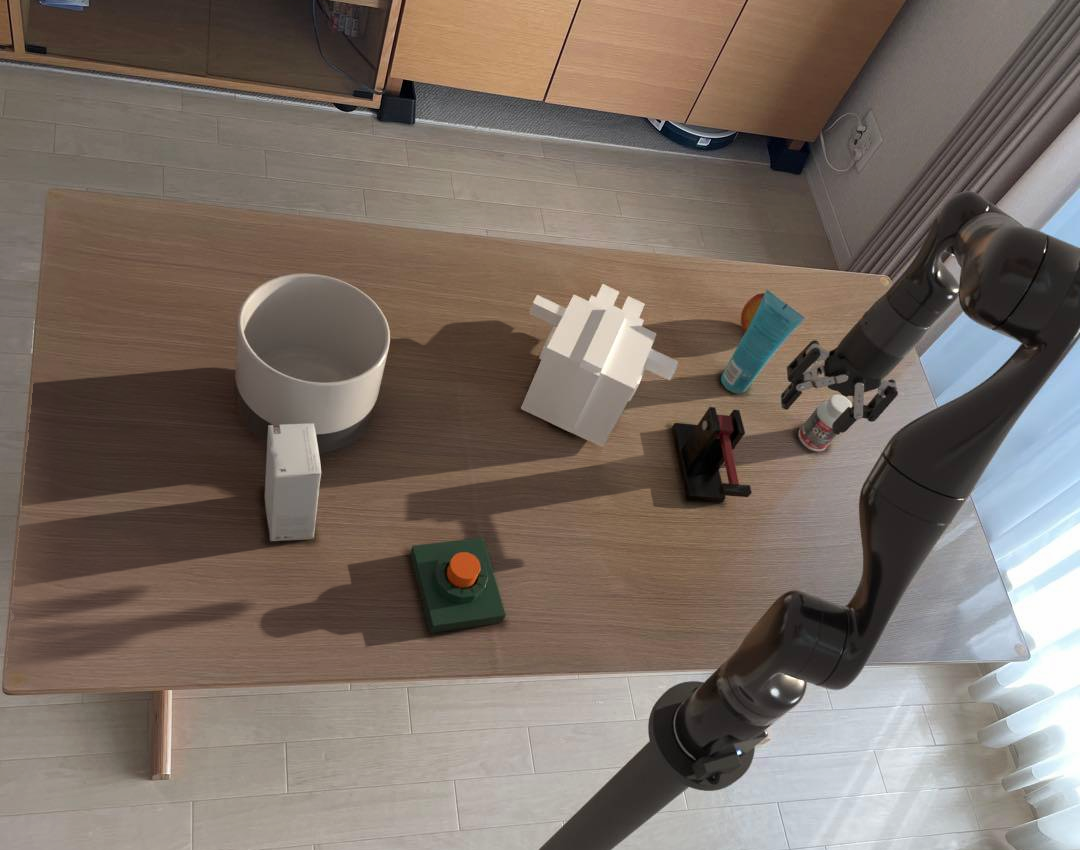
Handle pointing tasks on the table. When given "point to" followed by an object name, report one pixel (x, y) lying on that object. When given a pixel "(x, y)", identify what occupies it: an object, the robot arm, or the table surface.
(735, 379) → the tube
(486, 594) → the button box
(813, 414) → the pill bottle
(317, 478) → the cosmetic box
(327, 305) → the planter
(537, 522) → the table surface
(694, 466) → the black bracket
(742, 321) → the fruit
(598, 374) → the white voxel figure
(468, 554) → the button
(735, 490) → the red and black bar
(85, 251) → the table surface
